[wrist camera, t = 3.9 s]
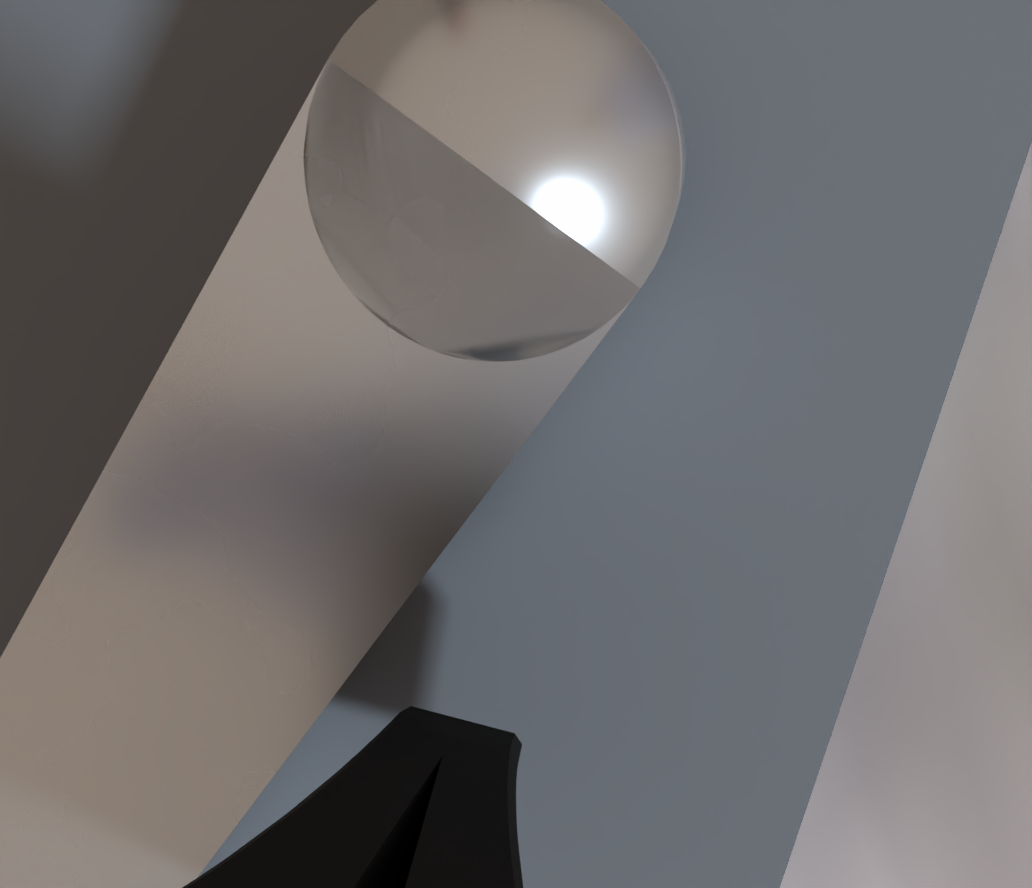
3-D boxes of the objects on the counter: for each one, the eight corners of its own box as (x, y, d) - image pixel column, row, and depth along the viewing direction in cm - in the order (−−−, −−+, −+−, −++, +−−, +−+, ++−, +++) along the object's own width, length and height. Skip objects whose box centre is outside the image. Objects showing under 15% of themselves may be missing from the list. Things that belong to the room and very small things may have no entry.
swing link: (-17, 1200, 17) (-108, 1337, 15) (-213, 1070, 16) (-330, 1192, 15) (795, 153, 9) (819, 164, 7) (444, -112, 9) (373, -172, 7)
